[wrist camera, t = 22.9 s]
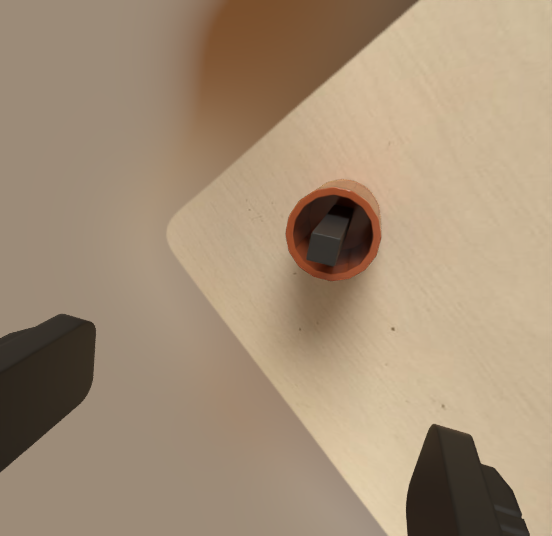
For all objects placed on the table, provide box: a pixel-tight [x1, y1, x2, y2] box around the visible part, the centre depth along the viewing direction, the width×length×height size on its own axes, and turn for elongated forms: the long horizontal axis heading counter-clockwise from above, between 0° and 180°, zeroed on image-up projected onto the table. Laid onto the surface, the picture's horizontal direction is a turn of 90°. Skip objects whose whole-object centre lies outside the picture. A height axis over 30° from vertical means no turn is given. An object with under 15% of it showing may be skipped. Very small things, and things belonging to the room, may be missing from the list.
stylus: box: [306, 204, 354, 266], centre depth 29 cm, size 2×2×13 cm
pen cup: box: [286, 179, 381, 281], centre depth 32 cm, size 6×6×8 cm
